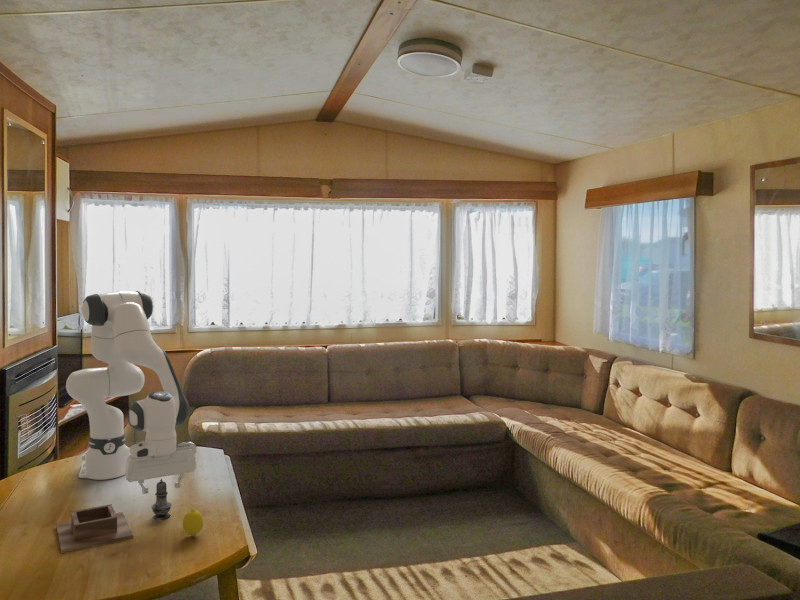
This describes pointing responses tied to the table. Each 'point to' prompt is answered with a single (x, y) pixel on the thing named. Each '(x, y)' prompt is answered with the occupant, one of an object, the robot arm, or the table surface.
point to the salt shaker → (161, 503)
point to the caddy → (93, 528)
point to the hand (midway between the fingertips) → (161, 490)
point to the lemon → (193, 522)
